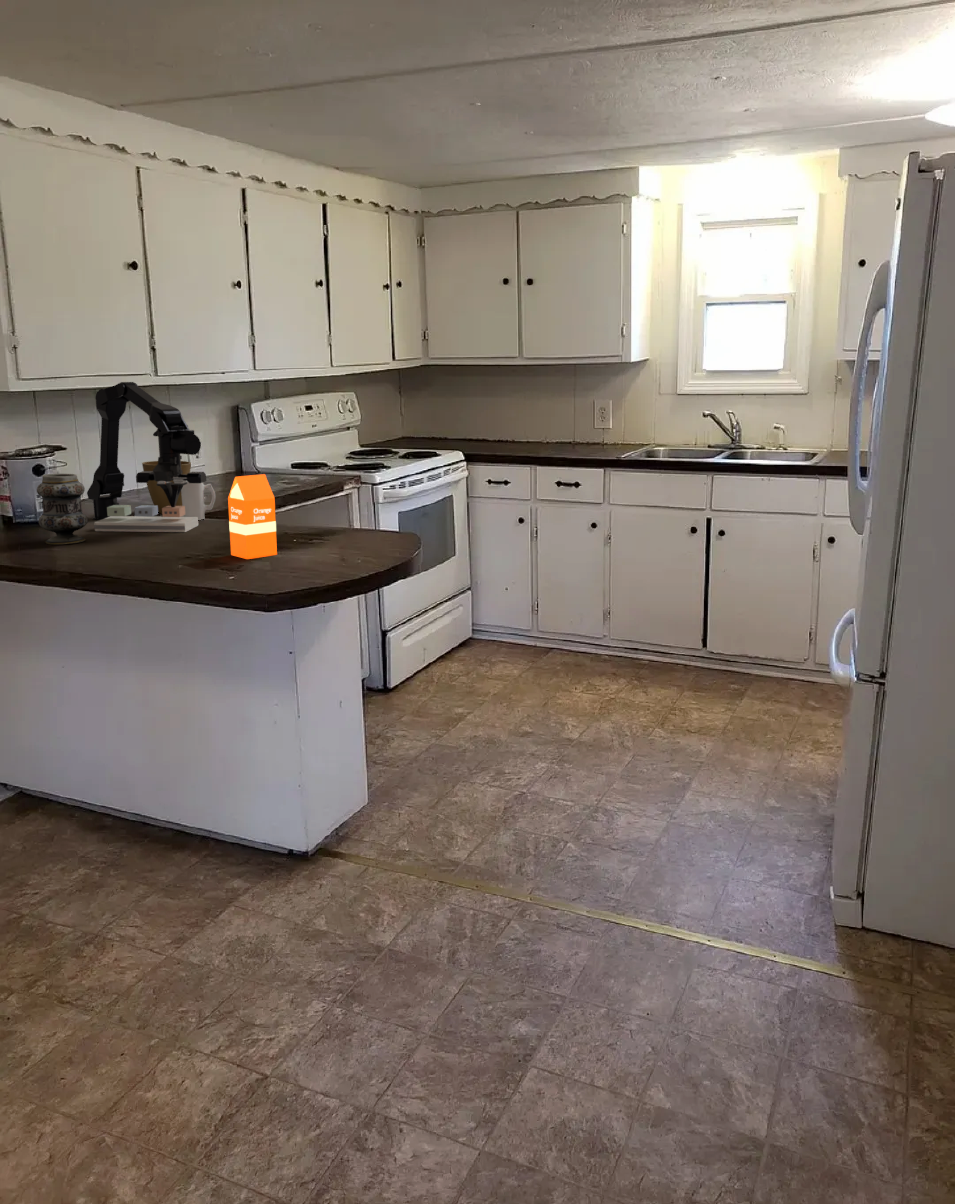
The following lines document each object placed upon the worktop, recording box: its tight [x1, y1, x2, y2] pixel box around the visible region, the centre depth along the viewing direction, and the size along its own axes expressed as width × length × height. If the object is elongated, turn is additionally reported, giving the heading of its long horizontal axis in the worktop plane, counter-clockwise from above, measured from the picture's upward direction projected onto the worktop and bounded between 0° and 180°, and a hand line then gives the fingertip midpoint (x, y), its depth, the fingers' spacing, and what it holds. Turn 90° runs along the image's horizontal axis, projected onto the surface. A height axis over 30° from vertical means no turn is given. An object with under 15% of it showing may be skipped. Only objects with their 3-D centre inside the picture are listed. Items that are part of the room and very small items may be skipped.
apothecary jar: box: [36, 473, 89, 546], centre depth 261 cm, size 12×12×18 cm
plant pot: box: [141, 460, 192, 514], centre depth 313 cm, size 15×15×16 cm
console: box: [93, 515, 199, 533], centre depth 285 cm, size 26×12×2 cm, turn 88°
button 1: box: [107, 504, 132, 516], centre depth 284 cm, size 5×5×2 cm
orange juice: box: [227, 473, 278, 560], centre depth 245 cm, size 8×9×20 cm
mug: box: [181, 481, 216, 521], centre depth 300 cm, size 10×7×12 cm, turn 107°
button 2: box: [133, 504, 159, 517], centre depth 284 cm, size 5×5×2 cm
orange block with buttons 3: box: [161, 506, 185, 517], centre depth 284 cm, size 5×5×2 cm
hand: (173, 507), depth 283 cm, fingers closed, pressing on orange block with buttons 3
